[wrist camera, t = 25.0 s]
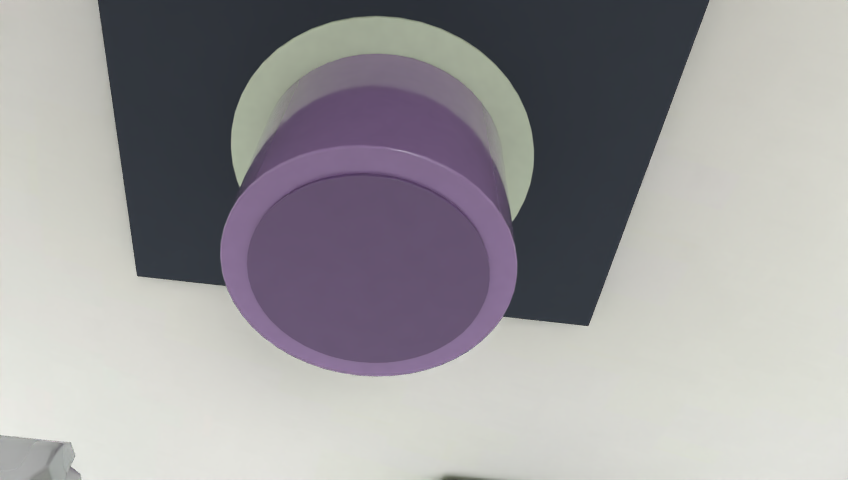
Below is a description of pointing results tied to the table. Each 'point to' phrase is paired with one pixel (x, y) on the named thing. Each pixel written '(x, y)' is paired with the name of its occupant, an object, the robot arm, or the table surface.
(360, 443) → the table surface
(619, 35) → the mat
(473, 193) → the dish
